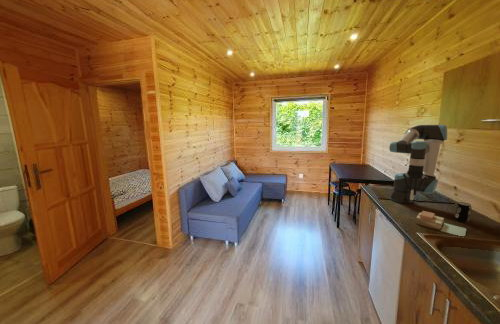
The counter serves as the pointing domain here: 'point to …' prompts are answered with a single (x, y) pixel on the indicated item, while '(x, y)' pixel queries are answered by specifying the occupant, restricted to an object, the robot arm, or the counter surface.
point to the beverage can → (463, 212)
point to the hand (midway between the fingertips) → (411, 199)
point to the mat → (453, 229)
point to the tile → (427, 215)
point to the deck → (430, 222)
